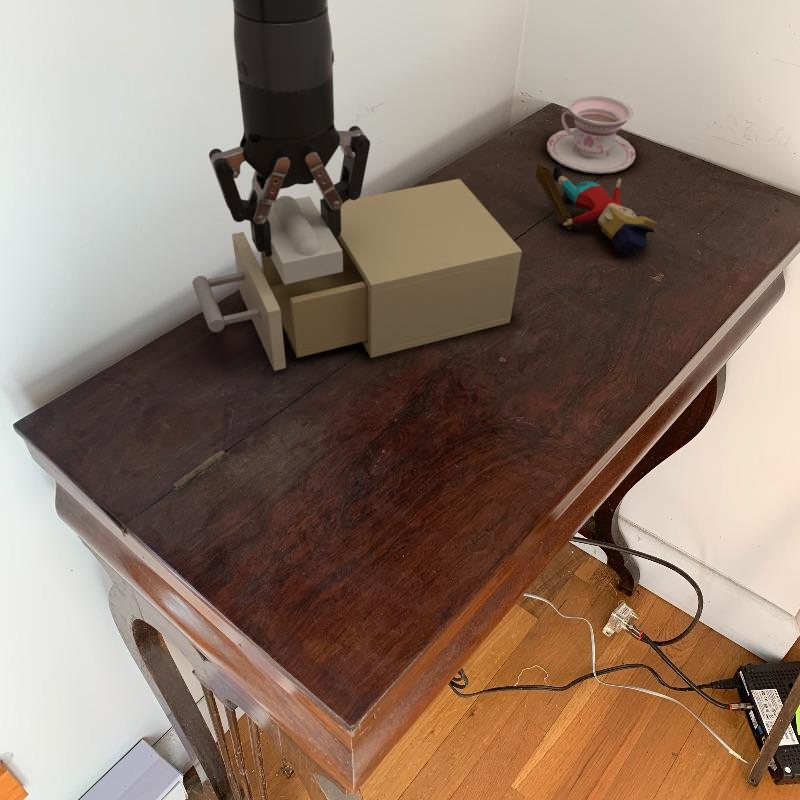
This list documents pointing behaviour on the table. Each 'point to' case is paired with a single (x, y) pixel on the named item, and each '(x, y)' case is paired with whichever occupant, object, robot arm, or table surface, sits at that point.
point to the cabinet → (429, 264)
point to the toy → (597, 209)
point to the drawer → (291, 305)
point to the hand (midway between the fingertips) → (297, 244)
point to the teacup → (593, 136)
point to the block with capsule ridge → (302, 241)
